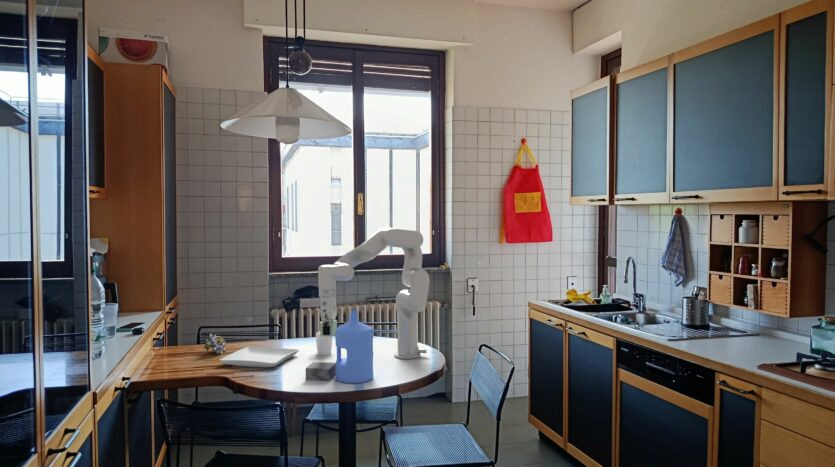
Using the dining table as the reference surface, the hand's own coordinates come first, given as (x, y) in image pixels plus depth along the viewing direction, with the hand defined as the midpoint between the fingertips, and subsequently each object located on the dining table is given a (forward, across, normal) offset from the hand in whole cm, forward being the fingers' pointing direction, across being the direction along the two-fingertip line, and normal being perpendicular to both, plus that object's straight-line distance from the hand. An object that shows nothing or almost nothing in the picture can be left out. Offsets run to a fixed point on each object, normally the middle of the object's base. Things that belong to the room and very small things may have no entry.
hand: (328, 332), depth 261 cm
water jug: (+15, -17, -16) cm, 27 cm away
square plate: (+15, +5, +35) cm, 38 cm away
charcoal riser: (+15, -16, -1) cm, 22 cm away
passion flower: (+14, +15, +63) cm, 66 cm away
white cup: (+16, +23, +10) cm, 30 cm away
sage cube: (+1, 0, 0) cm, 1 cm away
